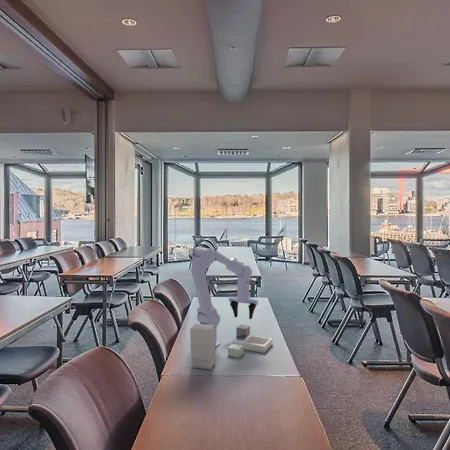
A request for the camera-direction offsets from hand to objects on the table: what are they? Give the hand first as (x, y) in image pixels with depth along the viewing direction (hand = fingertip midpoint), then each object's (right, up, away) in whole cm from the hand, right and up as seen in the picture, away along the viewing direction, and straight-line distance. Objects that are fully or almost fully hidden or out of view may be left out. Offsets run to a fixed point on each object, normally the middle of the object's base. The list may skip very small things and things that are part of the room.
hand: (243, 317), depth 181 cm
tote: (+5, -9, -14) cm, 18 cm away
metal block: (0, -9, 0) cm, 9 cm away
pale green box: (-4, -10, -23) cm, 25 cm away
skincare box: (-17, -10, -35) cm, 40 cm away
